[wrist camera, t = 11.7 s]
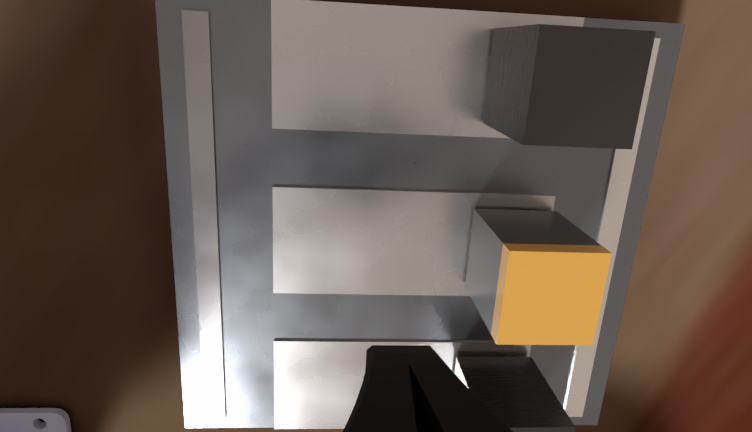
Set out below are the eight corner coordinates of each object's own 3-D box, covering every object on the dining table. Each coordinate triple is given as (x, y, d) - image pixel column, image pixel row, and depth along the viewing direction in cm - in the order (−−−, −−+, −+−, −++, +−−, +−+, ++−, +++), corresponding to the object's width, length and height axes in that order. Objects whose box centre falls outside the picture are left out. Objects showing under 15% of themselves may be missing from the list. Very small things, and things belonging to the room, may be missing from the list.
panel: (194, 403, 22) (148, 520, 17) (168, -5, 17) (93, -27, 12) (581, 402, 24) (655, 510, 18) (658, 25, 19) (791, 18, 13)
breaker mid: (465, 286, 20) (496, 344, 16) (473, 208, 19) (509, 250, 15) (543, 287, 20) (593, 345, 16) (556, 211, 19) (611, 253, 15)
